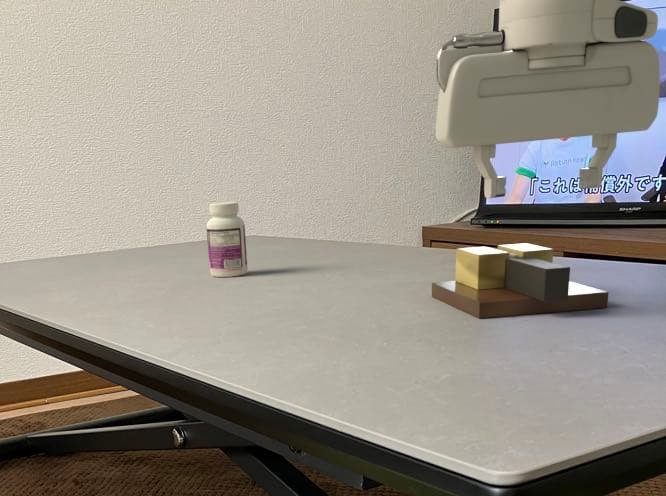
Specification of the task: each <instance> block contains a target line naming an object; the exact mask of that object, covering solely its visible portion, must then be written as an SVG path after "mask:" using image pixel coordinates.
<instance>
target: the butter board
mask: <svg viewBox="0 0 666 496" xmlns="http://www.w3.org/2000/svg"><path fill="white" fill-rule="evenodd" d="M509 253H513V254H516V255H518V257H525V256H528V257H532V258H536V259H539V260H543V261H547V262H551V263H554V262H553V260H554V248H550V247H545V246H542V245H541V246H540V245H537V244H532V243H528V242H524V243H512V244H510V243H509V244H499V245H497V248H493V247H489V246H483V245H482V246H474V247H473V246H472V247H471V246H470V247H459V248H456V249H455V278H454V280H449V281H448V280H447V281H435V282H432V283H431V297H432V298H434V299H436V300H438V301H440V302H443V303H445V304H447V305H450V306H451V307H454V308H456V309H458V310H460V311H462V312H463V313H467V314H468V315H471V316H473V317H475V318H478V319H491V318H492V319H493V318H503V317H515V316H525V315H527V316H528V315H538V314H539V315H540V314H548V313H560V312H561V313H563V312H572V311H584V310H585V311H586V310H595V309H596V310H597V309H608V302H609V293H610V292H609V291H606V290H603V289H598V288H596V287H593V286H589V285H584V284H582V283H578V282H574V281H571V280H569V290H568V300H563V301H551V302H543V301H540V300H537V299H534V298H531V297H529V296H526V295H523V294H520V293H517V292H515V291H512V290H509V289H506V288H504V280H505V259H506V258H509Z"/></svg>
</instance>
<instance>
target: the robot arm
mask: <svg viewBox="0 0 666 496" xmlns="http://www.w3.org/2000/svg"><path fill="white" fill-rule="evenodd" d="M498 1H499V4H498V5H499V7H498V30H495V31H485V32H479V33H473V34H469V33H459V34H456V35H453V36H452V38H451V39H450V40H448V41H446V42H445V43H444V44H443V45H442V46H441V47H440V49H439V50H438V52H437V56H436V65H435V66H436V68H435V70H436V73H435V74H436V77H435V78H436V81H437V84H438V87H439V92H438V98H437V99H438V100H437V108H436V117H435V118H436V119H435V138H436V140H437V142H438V143H439V144H440V146H441V147H442V148H444V149H460V148H469V147H470V148H472V151H473V152H472V153H473V154H472V160H473V162H474V163H475V165H476V167H477V169H478V170H479V172H480V174H481V176H482V178H483V179H484V180H483V181H484V183H483V184H484V185H483V186H484V187H483V188H484V189H483V191H484V192H483V193H484V198H486V199H496V198H504V197H506V193H507V189H506V185H507V176H498V174H497V172H496V169H495V168H494V166H493V164H492V161H491V159H495V158H496V154H497V153H496V152H497V151H496V150H497V145H502V144H514V143H525V142H526V143H527V142H535V141H546V140H557V139H558V140H559V139H567V138H570V139H571V138H578V137H579V138H580V137H590V136H591V148H593V149H596V150H595V152H594V153H593V156H592V158H591V160H590V162H589V163H588V165H587V167H583V168H579V174H578V176H579V178H580V179H579V180H578V187H579V189H585V190H586V189H598V188H599V189H600V188H601V186H602V184H603V173H604V172H603V171H604V170H603V169H604V168H605V166H606V164H607V163H608V161H609V159H610V158H611V156H612V154H613V153H614V151H615V149H616V148H617V142H618V141H617V139H618V134H625V133H634V132H641V131H642V132H644V131H648V130H649V129H650V128H651V126H652V125H653V123H654V122H655V120H656V119H657V116H658V113H659V103H660V82H661V81H660V78H661V77H660V73H661V71H660V57H659V53H658V52H657V49H656V48H655V46H654V45H653V44H652V43H650V42H648V41H647V40H650V39H653V37H654V36H655V35H656V34H657V31H658V26H659V25H658V24H659V18H658V17H659V16H658V14H657V13H656V12H655V11H653V10H652V9H648V8H645V7H642V6H639V5H635V4H632V3H629V2H626V1H622V0H498ZM449 47H452V48H450V49H448V48H449Z"/></svg>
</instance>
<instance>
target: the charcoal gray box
mask: <svg viewBox="0 0 666 496" xmlns="http://www.w3.org/2000/svg"><path fill="white" fill-rule="evenodd" d="M570 275H571V267H570V266H566V265H563V264H559V263H555V262H552V263H551V262H547V261H543V260H539V259H536V258H532V257H528V256H525V257H518V255H516V254H513V253H509V258H506V259H505V280H504V288H506V289H509V290H512V291H515V292H517V293H520V294H523V295H526V296H529V297H531V298H534V299H537V300H540V301H543V302H551V301H563V300H568V290H569V281H570Z"/></svg>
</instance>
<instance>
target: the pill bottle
mask: <svg viewBox="0 0 666 496" xmlns="http://www.w3.org/2000/svg"><path fill="white" fill-rule="evenodd" d="M239 207H240V206H239V202H238V201H222V202H221V201H219V202H212V203H209V214H210V216H211V217H212V218H210V219H209V220H208V221H207V223H206V239H207V250H208V263H209V273H210V275H211V276H212V277H214V278H230V277H231V278H232V277H239V276H243V275H247V273H248V271H249V270H248V256H247V254H248V253H247V242H246V239H247V238H246V225H245V221H244V220H243V218H242V217H240V216H238V214H239V211H240V208H239Z"/></svg>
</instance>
